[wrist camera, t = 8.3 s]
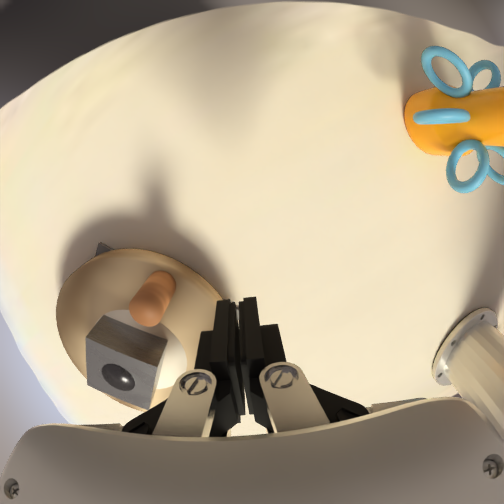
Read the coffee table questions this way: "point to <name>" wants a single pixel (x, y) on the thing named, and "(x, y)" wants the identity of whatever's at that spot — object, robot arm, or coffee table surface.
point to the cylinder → (458, 118)
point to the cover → (124, 361)
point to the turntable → (138, 308)
